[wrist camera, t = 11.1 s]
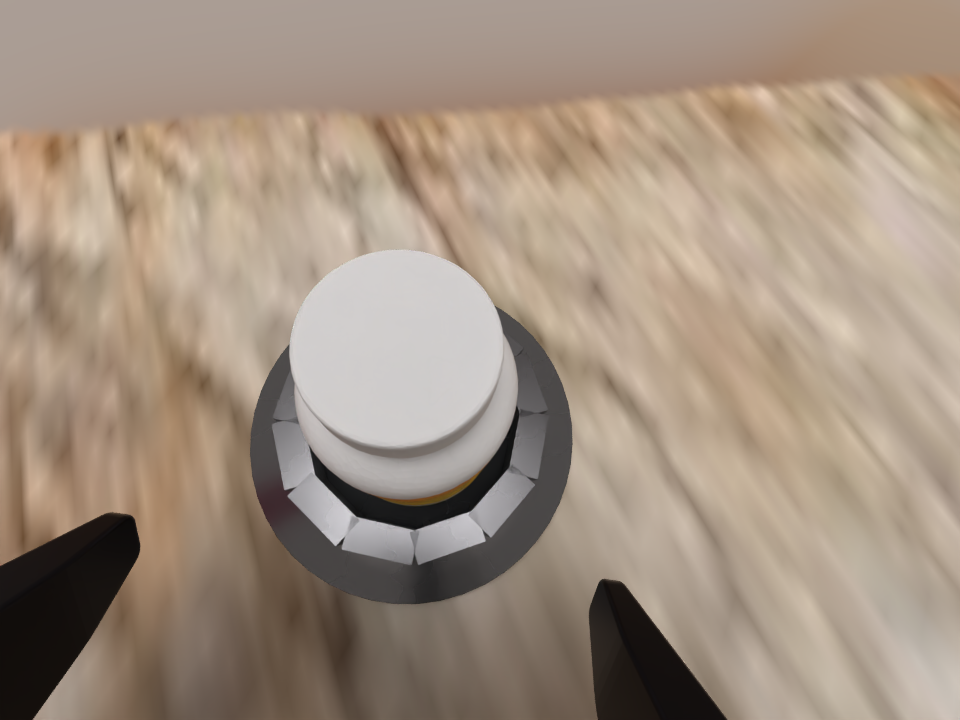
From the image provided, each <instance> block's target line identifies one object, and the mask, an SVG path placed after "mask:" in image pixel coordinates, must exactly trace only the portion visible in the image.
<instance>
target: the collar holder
mask: <svg viewBox="0 0 960 720" xmlns="http://www.w3.org/2000/svg"><path fill="white" fill-rule="evenodd" d="M495 308H496V310H497V312H498V315H499V318H500V321H501V325H502V330H503V334H504V336H505V337H506V339H507V341H508V343H509V345H510V348H511V350H512V353H513V356H514V360H515V364H516V370H517V377H518V396H517V404H516V409H515V413H514V417H513V420H512V423H511V426H510V428H509V431H508V433H507V435H506V437H505V439H504V441H503V442H502V444H501V446H500V447H499V449H498V450H497V452H496V454H495V455H494V456H493V457H492V459H491V460H490V461H489V463H488V464H487V465H486V466H485V467H484V468H483V470H482V471H481V472H480V473H479V474H478V476H477V477H476V478H475V479H474V480H473V482H472V483H471V484H470V485H469V486H468V487H466V488H465V489H464V490H463V491H461V492H460V493H459V494H457V495H455V496H454V497H452V498H450V499H448V500H446V501H443V502H441V503H438V504H434V505H428V506H418V507H414V506H403V505H398V504H394V503H391V502H388V501H386V500H383V499H381V498H379V497H376V496H373V495H371V494H368V493H365V492H363V491H361V490H359V489H356V488H354V487H352V486H351V485H349V484H348V483H346V482H344V481H343V480H342V479H340V478H339V477H338V476H336V475H335V474H334V473H333V472H331V471H330V470H329V469H328V468H327V467H326V466H325V465H324V464H323V463H322V462H321V461H320V460H319V458H318V457H317V456H316V455H315V453H314V452H313V451H312V449H311V447H310V446H309V444H308V442H307V441H306V439H305V436H304V434H303V432H302V429H301V427H300V424H299V421H298V417H297V412H296V406H295V395H294V388H295V382H294V379H293V376H292V372H291V365H290V358H289V349H290V344H289V345H288V347H287V348H286V349H285V350H284V352H283V353H282V354H281V355H280V357H279V359H278V360H277V362H276V363H275V365H274V367H273V368H272V370H271V371H270V373H269V375H268V377H267V380H266V382H265V384H264V386H263V388H262V390H261V393H260V396H259V399H258V403H257V406H256V409H255V413H254V418H253V424H252V430H251V447H250V457H251V467H252V476H253V480H254V484H255V488H256V493H257V497H258V499H259V502H260V504H261V507H262V509H263V512H264V514H265V517H266V519H267V521H268V522H269V524H270V526H271V527H272V529H273V531H274V532H275V534H276V536H277V537H278V539H279V540H280V541H281V542H282V544H283V545H284V546H285V547H286V549H287V550H288V551H289V552H290V554H291V555H292V556H293V557H294V558H295V559H297V560H298V561H299V562H300V563H301V564H302V565H303V566H304V567H305V568H306V569H307V570H309V571H310V572H311V573H313V574H314V575H316V576H317V577H319V578H320V579H322V580H323V581H325V582H326V583H328V584H330V585H332V586H334V587H336V588H338V589H340V590H342V591H345V592H347V593H349V594H352V595H355V596H359V597H362V598H365V599H369V600H373V601H379V602H386V603H393V604H420V603H427V602H434V601H441V600H445V599H448V598H451V597H455V596H458V595H462V594H465V593H467V592H469V591H471V590H474V589H476V588H478V587H480V586H482V585H485V584H486V583H488V582H489V581H491V580H493V579H494V578H496V577H497V576H499V575H501V574H502V573H504V572H505V571H506V570H507V569H509V568H510V567H511V566H512V565H513V564H515V563H516V562H517V561H518V560H519V559H521V558H522V557H523V556H524V554H525V553H526V552H527V551H528V550H529V549H530V548H531V547H532V546H533V545H534V544H535V542H536V541H537V540H538V539H539V537H540V536H541V534H542V533H543V531H544V530H545V528H546V527H547V526H548V524H549V523H550V521H551V519H552V517H553V515H554V513H555V511H556V509H557V507H558V505H559V503H560V500H561V497H562V494H563V492H564V489H565V486H566V483H567V478H568V474H569V469H570V464H571V454H572V423H571V417H570V411H569V405H568V401H567V398H566V395H565V392H564V388H563V385H562V383H561V380H560V378H559V376H558V374H557V372H556V369H555V367H554V366H553V364H552V362H551V361H550V359H549V357H548V356H547V354H546V353H545V351H544V350H543V348H542V347H541V346H540V345H539V343H538V342H537V341H536V340H535V338H534V337H533V336H532V335H531V334H530V333H529V332H528V331H527V330H526V329H525V328H524V327H523V326H522V325H521V324H520V323H519V322H517V321H516V320H515V319H513V318H512V317H511V316H509V315H508V314H507V313H505V312H504V311H502V310H501V309H499V308H497V307H496V306H495Z"/></svg>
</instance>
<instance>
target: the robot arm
mask: <svg viewBox="0 0 960 720" xmlns="http://www.w3.org/2000/svg"><path fill="white" fill-rule="evenodd" d="M139 552H140V541H139V537H138V532H137V527H136V523H135V519H134V518H133V517H132V516H131V515H128V514H121V513H113V512H112V513H106V514H104V515H101V516H99V517H97V518H95V519H93V520H91V521H89V522H87V523H85V524H83V525H81V526H79V527H77V528H75V529H73V530H71V531H69V532H67V533H65V534H63V535H61V536H59V537H57V538H55V539H53V540H51V541H49V542H47V543H45V544H43V545H41V546H39V547H37V548H35V549H33V550H31V551H29V552H27V553H25V554H23V555H21V556H19V557H17V558H15V559H13V560H11V561H9V562H7V563H5V564H3V565H1V566H0V720H33V718H34V717H35V716H36V714H37V713H38V711H39V710H40V709H41V707H42V706H43V704H44V703H45V702H46V700H47V699H48V697H49V696H50V695H51V693H52V692H53V690H54V689H55V688H56V686H57V685H58V683H59V682H60V681H61V679H62V678H63V676H64V675H65V674H66V672H67V671H68V669H69V668H70V667H71V665H72V664H73V662H74V661H75V660H76V658H77V657H78V655H79V654H80V653H81V651H82V650H83V648H84V647H85V645H86V644H87V642H88V641H89V639H90V638H91V636H92V635H93V633H94V631H95V630H96V628H97V627H98V625H99V623H100V621H101V620H102V618H103V616H104V615H105V613H106V611H107V610H108V608H109V606H110V604H111V603H112V601H113V599H114V598H115V596H116V594H117V592H118V591H119V589H120V587H121V586H122V584H123V582H124V581H125V579H126V577H127V575H128V574H129V572H130V570H131V569H132V567H133V565H134V563H135V562H136V560H137V558H138V555H139ZM589 626H590V640H591V653H592V667H593V680H594V693H595V704H596V711H597V717H598V720H727V718H726V717H725V716H724V714H723V713H722V712H721V710H720V709H719V708H718V707H717V705H716V704H715V703H714V701H713V700H712V699H711V697H710V696H709V695H708V693H707V692H706V691H705V689H704V688H703V687H702V686H701V684H700V683H699V682H698V680H697V679H696V678H695V676H694V675H693V674H692V672H691V671H690V670H689V668H688V667H687V666H686V665H685V663H684V662H683V661H682V659H681V658H680V657H679V655H678V654H677V653H676V651H675V650H674V649H673V647H672V646H671V645H670V644H669V642H668V641H667V640H666V638H665V637H664V636H663V634H662V633H661V632H660V630H659V629H658V628H657V626H656V625H655V624H654V623H653V621H652V620H651V619H650V617H649V616H648V615H647V613H646V612H645V611H644V609H643V608H642V607H641V605H640V604H639V603H638V601H637V600H636V599H635V598H634V596H633V595H632V594H631V592H630V591H629V590H628V588H627V587H626V586H625V585H624V584H623V583H622V582H620V581H616V580H608V579H602V580H601V581H600V582H599V584H598V586H597V589H596V592H595V594H594V597H593V600H592V603H591V605H590V610H589Z"/></svg>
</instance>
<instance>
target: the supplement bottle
mask: <svg viewBox="0 0 960 720" xmlns="http://www.w3.org/2000/svg"><path fill="white" fill-rule="evenodd" d="M289 358H290V365H291V372H292V376H293V379H294V382H295V388H294V395H295V406H296V412H297V417H298V421H299V424H300V427H301V429H302V432H303V434H304V436H305V439H306V441H307V442H308V444H309V446H310V447H311V449H312V451H313V452H314V453H315V455H316V456H317V457H318V458H319V460H320V461H321V462H322V463H323V464H324V465H325V466H326V467H327V468H328V469H329V470H330V471H331V472H333V473H334V474H335V475H336V476H338V477H339V478H340V479H342V480H343V481H344V482H346V483H348V484H349V485H351V486H352V487H354V488H356V489H359V490H361V491H363V492H365V493H368V494H371V495H373V496H376V497H379V498H381V499H383V500H386V501H388V502H391V503H394V504H398V505H403V506H414V507H418V506H428V505H434V504H438V503H441V502H443V501H446V500H448V499H450V498H452V497H454V496H455V495H457V494H459V493H460V492H461V491H463V490H464V489H465V488H466V487H468V486H469V485H470V484H471V483H472V482H473V480H474V479H475V478H476V477H477V476H478V474H479V473H480V472H481V471H482V470H483V468H484V467H485V466H486V465H487V464H488V463H489V461H490V460H491V459H492V457H493V456H494V455H495V454H496V452H497V450H498V449H499V447H500V446H501V444H502V442H503V441H504V439H505V437H506V435H507V433H508V431H509V428H510V426H511V423H512V420H513V417H514V413H515V409H516V404H517V396H518V377H517V370H516V364H515V360H514V356H513V353H512V350H511V348H510V345H509V343H508V341H507V339H506V337H505V336H504V334H503V330H502V325H501V321H500V318H499V315H498V312H497V310H496V308H495V306H494V304H493V302H492V300H491V299H490V297H489V296H488V294H487V293H486V291H485V290H484V289H483V288H482V286H481V285H480V284H479V283H478V282H477V281H476V280H475V279H474V278H473V277H472V276H471V275H469V274H468V273H467V272H466V271H464V270H463V269H461V268H460V267H458V266H457V265H455V264H454V263H452V262H450V261H448V260H445V259H443V258H441V257H438V256H436V255H432V254H429V253H425V252H421V251H414V250H399V249H396V250H384V251H378V252H373V253H369V254H366V255H363V256H360V257H357V258H355V259H352V260H350V261H348V262H346V263H344V264H343V265H341V266H339V267H338V268H336V269H334V270H333V271H331V272H330V273H329V274H327V275H326V276H325V277H324V278H323V279H322V280H321V281H320V282H319V283H318V284H317V285H316V286H315V287H314V288H313V289H312V290H311V292H310V293H309V294H308V296H307V297H306V299H305V300H304V302H303V303H302V305H301V307H300V309H299V311H298V313H297V316H296V318H295V322H294V325H293V328H292V332H291V338H290V349H289Z"/></svg>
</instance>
